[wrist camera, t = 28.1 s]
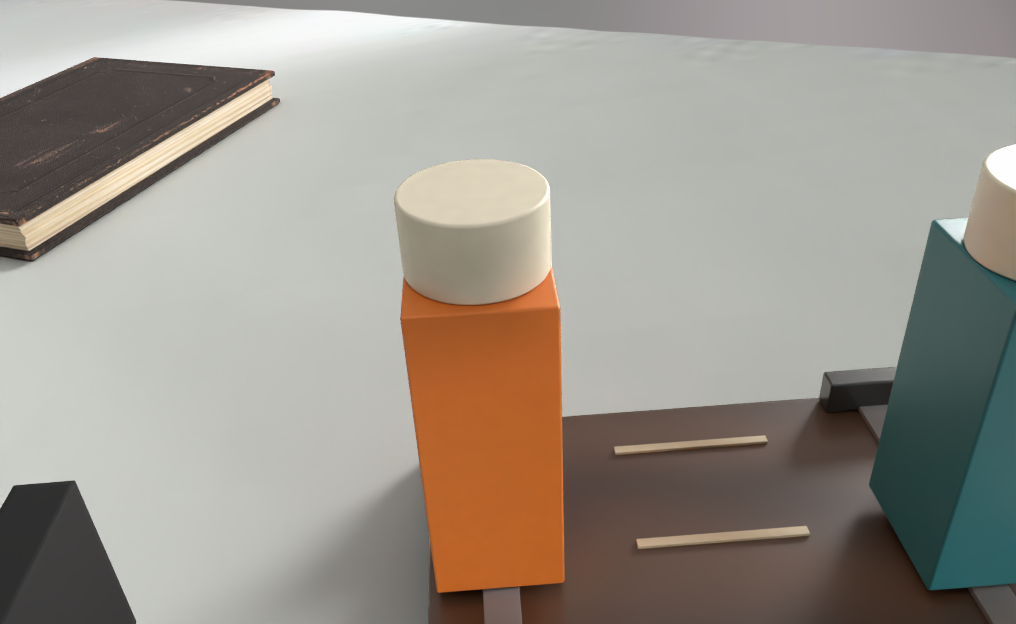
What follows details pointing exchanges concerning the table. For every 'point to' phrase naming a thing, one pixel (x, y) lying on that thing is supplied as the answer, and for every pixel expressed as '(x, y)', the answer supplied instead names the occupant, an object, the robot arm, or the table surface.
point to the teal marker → (958, 398)
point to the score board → (730, 523)
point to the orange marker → (484, 370)
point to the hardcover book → (109, 139)
